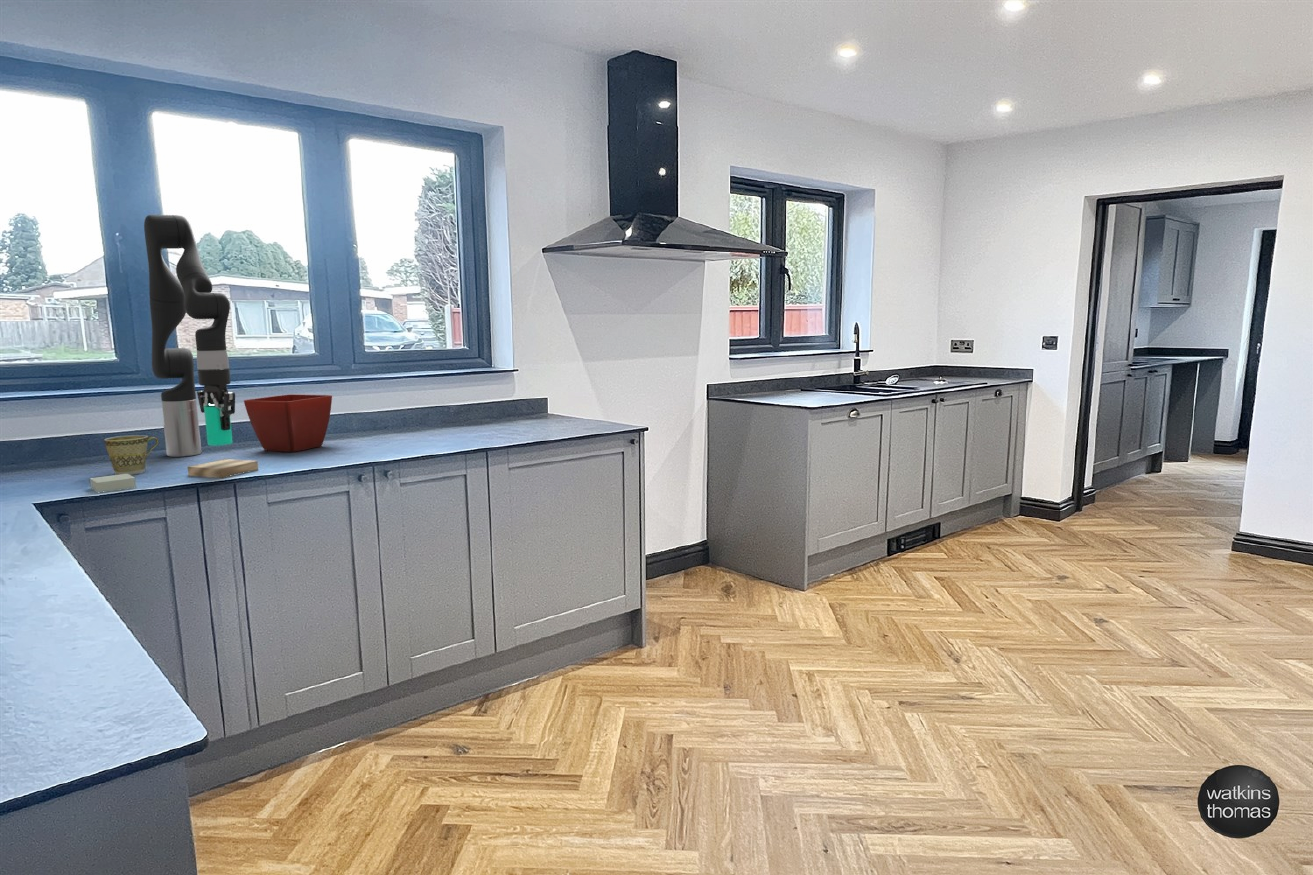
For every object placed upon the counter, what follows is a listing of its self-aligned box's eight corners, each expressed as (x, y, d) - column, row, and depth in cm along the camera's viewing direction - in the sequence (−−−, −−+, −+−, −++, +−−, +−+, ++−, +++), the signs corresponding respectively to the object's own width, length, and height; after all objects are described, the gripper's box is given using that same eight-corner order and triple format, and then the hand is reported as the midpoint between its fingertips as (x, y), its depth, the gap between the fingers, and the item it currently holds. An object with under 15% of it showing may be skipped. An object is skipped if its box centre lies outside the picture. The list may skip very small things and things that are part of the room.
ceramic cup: (118, 478, 209) (114, 441, 208) (101, 474, 214) (97, 438, 213) (170, 470, 220) (166, 435, 218) (152, 466, 225) (148, 432, 224)
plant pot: (246, 451, 250) (241, 399, 247) (294, 442, 267) (290, 393, 264) (291, 455, 242) (286, 401, 240) (337, 445, 260) (333, 395, 257)
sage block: (91, 489, 197) (90, 478, 196) (128, 484, 202) (127, 473, 202) (98, 494, 191) (96, 482, 191) (136, 489, 197) (134, 477, 196)
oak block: (188, 477, 212) (187, 466, 211) (226, 469, 223) (225, 458, 223) (221, 480, 208) (220, 469, 207) (258, 471, 219) (257, 461, 219)
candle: (207, 446, 210) (202, 402, 208) (208, 443, 216) (203, 400, 214) (232, 444, 213) (228, 400, 211) (232, 441, 218) (228, 398, 216)
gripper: (184, 367, 211) (190, 429, 214) (215, 368, 204) (221, 432, 207) (211, 366, 218) (217, 426, 220) (242, 367, 211) (248, 429, 213)
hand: (219, 429), depth 213 cm, fingers closed on candle, 5 cm apart
